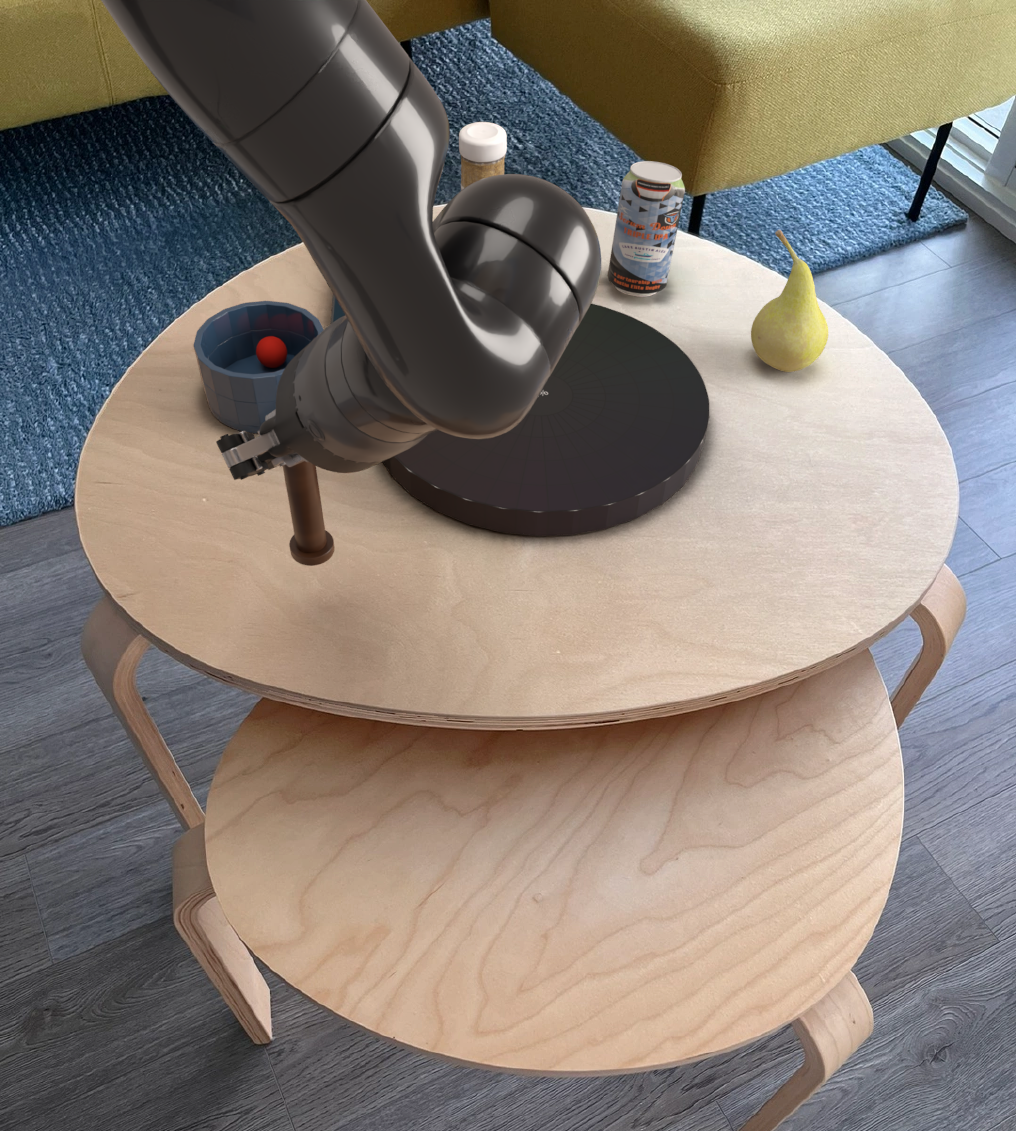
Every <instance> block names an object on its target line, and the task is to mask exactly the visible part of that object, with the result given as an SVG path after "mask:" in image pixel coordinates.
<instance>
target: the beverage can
mask: <svg viewBox="0 0 1016 1131" xmlns="http://www.w3.org/2000/svg"><path fill="white" fill-rule="evenodd" d="M682 176H683V174H682V171H681V170H680V169H678V168H677V167H676V166H673V165H671V164H668V163H665V162H659V161H653V160H652V161H651V160H643V161H637V162H635V163H633V164H631V165H630V168H629V171H628V172H627V173H626V175H624V176H623V179H622V181H621V186H620V193H619V200H618V205H617V212H616V218H615V225H614V232H613V239H612V245H611V251H610V257H609V262H608V271H607V280H608V281H609V282H610V284H611V285H613V286H614V288H615V289H616V290H617V291H619V292H620V293H622V294H624V295H628V296H631V297H640V298H642V297H643V298H645V297H650V296H654V295H656V294H657V293H659V292H661V291H663V290H664V289H665V288H666V287H667V284H668V279H669V274H670V269H671V264H672V259H673V254H674V248H675V243H676V238H677V233H678V228H679V224H680V218H681V213H682V208H683V202H684V197H685V191H686V187H685V184H684V182H683V180H682Z"/></svg>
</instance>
